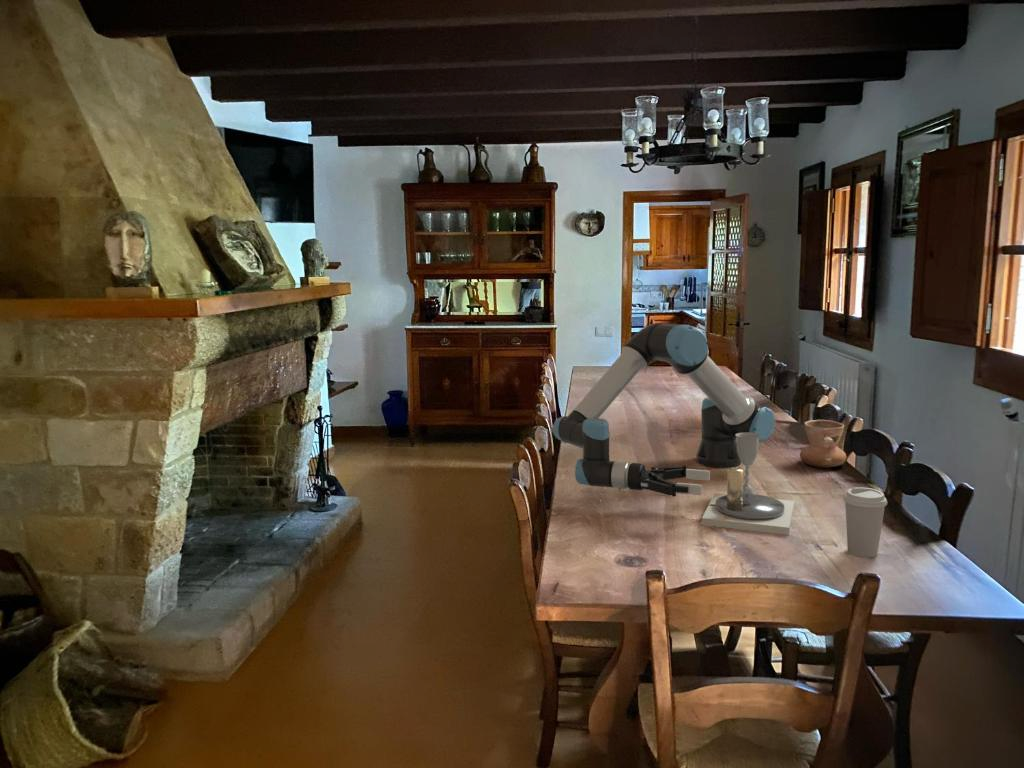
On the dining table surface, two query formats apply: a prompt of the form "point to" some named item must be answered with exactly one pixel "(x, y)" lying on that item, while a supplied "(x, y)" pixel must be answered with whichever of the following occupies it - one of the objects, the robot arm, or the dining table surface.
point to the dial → (746, 500)
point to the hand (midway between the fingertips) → (705, 482)
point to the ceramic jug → (823, 444)
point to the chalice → (747, 455)
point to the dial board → (767, 525)
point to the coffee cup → (864, 520)
